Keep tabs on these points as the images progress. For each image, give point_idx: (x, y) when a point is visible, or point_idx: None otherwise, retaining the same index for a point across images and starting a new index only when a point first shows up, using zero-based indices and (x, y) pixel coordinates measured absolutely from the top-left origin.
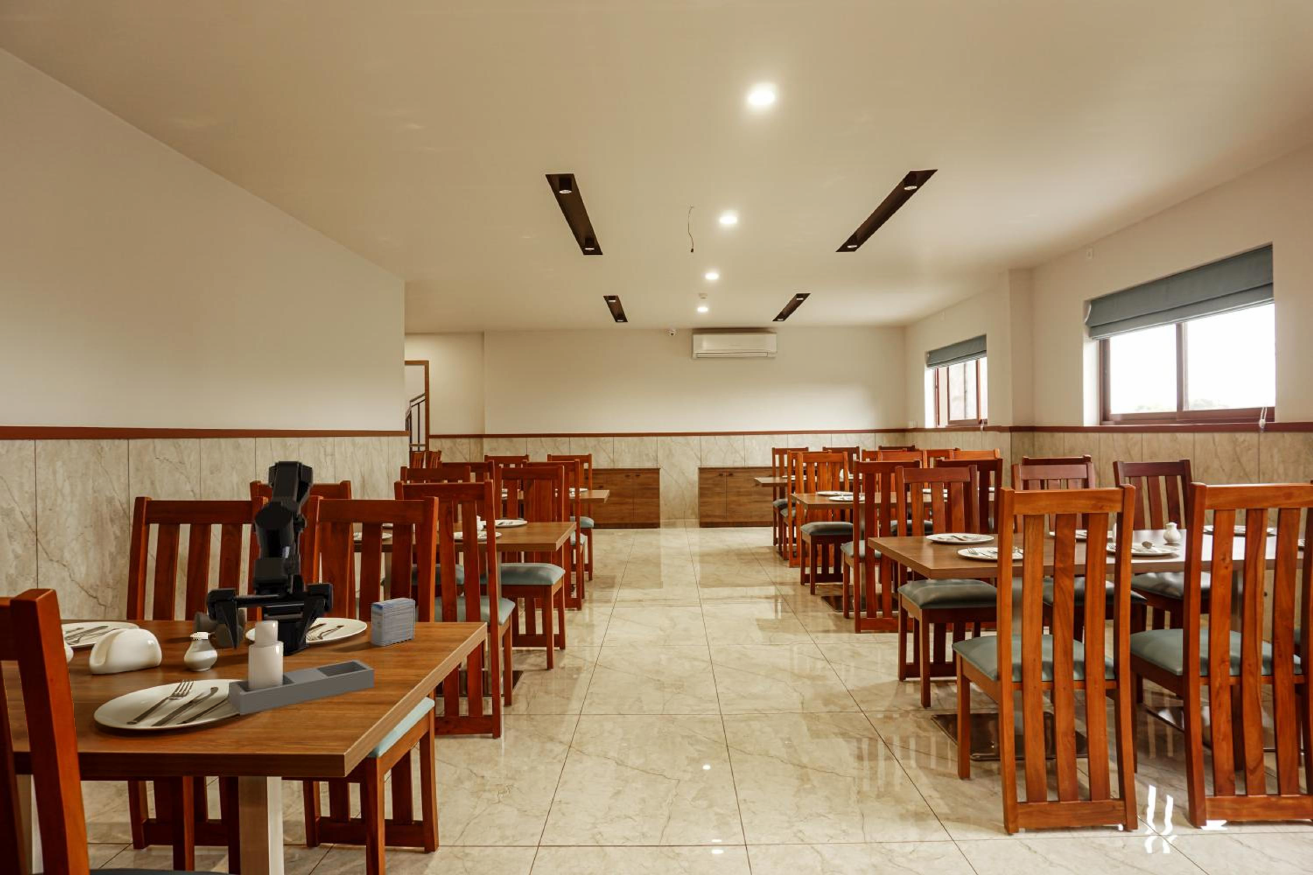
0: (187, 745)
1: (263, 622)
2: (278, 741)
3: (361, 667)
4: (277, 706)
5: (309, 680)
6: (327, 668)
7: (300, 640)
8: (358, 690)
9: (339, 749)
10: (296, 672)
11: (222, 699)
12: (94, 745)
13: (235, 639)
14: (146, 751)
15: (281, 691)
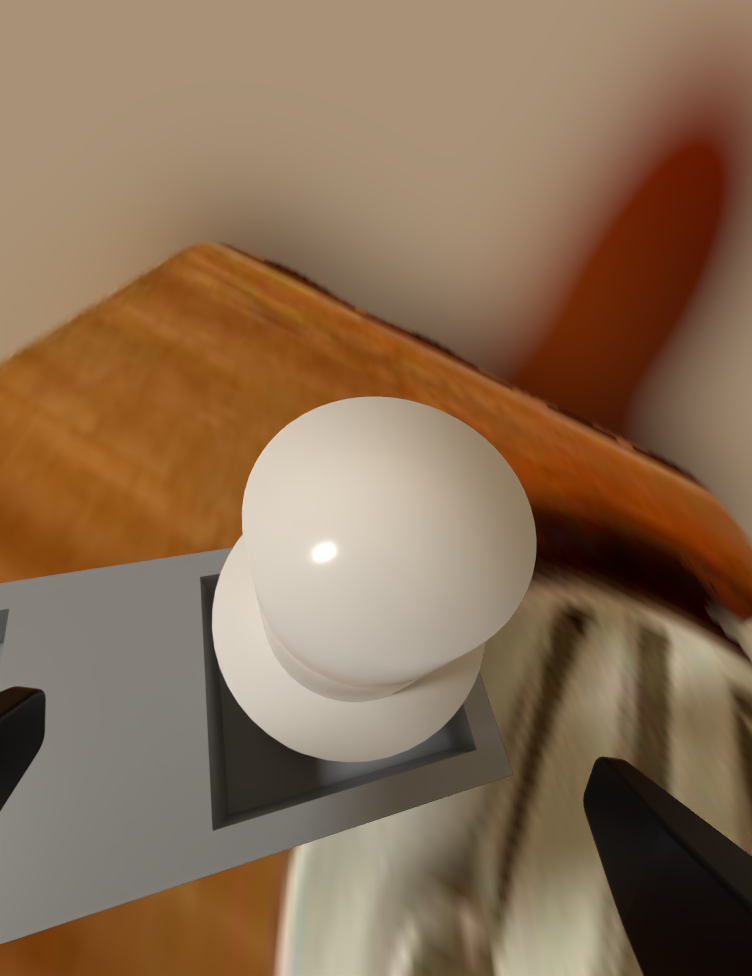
0: (510, 422)
1: (433, 541)
2: (312, 344)
3: None
4: None
5: (123, 587)
6: None
7: (18, 687)
8: None
9: (203, 252)
10: (127, 833)
11: (514, 920)
12: (736, 535)
13: (659, 801)
14: (589, 433)
15: None
